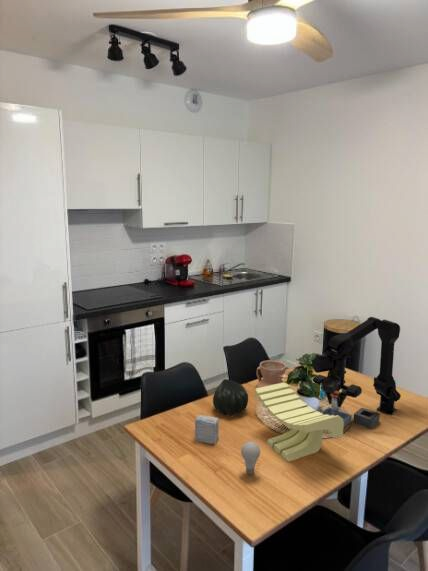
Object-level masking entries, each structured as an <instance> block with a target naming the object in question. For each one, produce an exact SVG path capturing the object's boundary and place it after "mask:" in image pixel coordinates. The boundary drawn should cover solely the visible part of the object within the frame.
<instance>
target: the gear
mask: <svg viewBox="0 0 428 571" xmlns="http://www.w3.org/2000/svg"><path fill="white" fill-rule="evenodd" d="M321 387H322V384H321ZM326 396H327V395H326V393H325V391H323V389H321V391H320V399H319V400H322V399H324V398H326Z"/></svg>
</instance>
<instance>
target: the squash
mask: <svg viewBox="0 0 428 571" xmlns="http://www.w3.org/2000/svg"><path fill="white" fill-rule="evenodd" d="M248 403H249V395H248V391H247V389H246V388H245V387H244V386H243V385H242V383H241V384H240V383H238V382H236V381H234V380H231V379H225V378H224V379H222V381H221V382H220V384H219V385H218V386H217V388H216V389H215V391H214V394H213V398H212V404H213V407H214V409H215V410H216V411H218V412H219V413H220V414H221V415H223V416H229V417H234V416H235V415H236V414H237V415H240V414H241V413H242V412H243V411H245V409H246V408H247V406H248Z"/></svg>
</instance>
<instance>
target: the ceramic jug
mask: <svg viewBox="0 0 428 571" xmlns="http://www.w3.org/2000/svg"><path fill="white" fill-rule="evenodd" d="M286 371H287V365H286V364H285V363H284V362H281V361H277V360H269V359H268V360H263V361H261V362H260V363H259V366H258V367H257V368H256V377H257V380H258V382H257V384H256V388H260V387H265V386H270V385H274V384H279V383H286V382H285V381H283V380H282V379H284V380H286V379H287V378H288V375H286V374H285V373H286ZM261 376H262V377H261Z"/></svg>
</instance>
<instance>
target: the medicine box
mask: <svg viewBox="0 0 428 571" xmlns="http://www.w3.org/2000/svg"><path fill="white" fill-rule="evenodd" d="M219 421H220V420H219V418H218V417H213V416H209V415H203V414H199V415H198V416H197V417H196V419H195V420H194V434H195V435H194V436H195V437H194V441H195V442H199V443H205V444H210V445H214V446H215V445H216V444H217V443H218V441H219V437H220V436H219V434H220V432H219V430H220V429H219V425H220V424H219Z"/></svg>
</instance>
